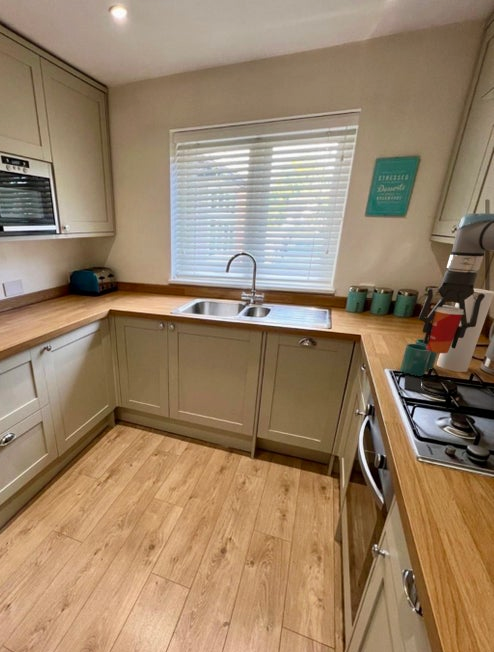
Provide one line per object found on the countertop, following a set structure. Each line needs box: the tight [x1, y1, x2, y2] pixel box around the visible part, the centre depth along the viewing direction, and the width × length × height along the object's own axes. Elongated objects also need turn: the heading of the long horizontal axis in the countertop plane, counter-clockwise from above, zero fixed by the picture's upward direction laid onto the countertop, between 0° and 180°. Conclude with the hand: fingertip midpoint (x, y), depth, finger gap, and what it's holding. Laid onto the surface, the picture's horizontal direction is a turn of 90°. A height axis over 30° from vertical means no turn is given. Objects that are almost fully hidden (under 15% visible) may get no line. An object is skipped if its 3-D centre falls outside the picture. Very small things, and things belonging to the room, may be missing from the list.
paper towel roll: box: [436, 288, 494, 373], centre depth 122 cm, size 9×9×30 cm
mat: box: [403, 375, 440, 397], centre depth 110 cm, size 12×12×1 cm
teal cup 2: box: [414, 338, 439, 372], centre depth 125 cm, size 7×7×10 cm
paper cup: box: [427, 304, 464, 354], centre depth 103 cm, size 8×8×14 cm
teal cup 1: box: [399, 343, 431, 377], centre depth 119 cm, size 7×7×10 cm
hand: (438, 344), depth 105 cm, fingers closed on paper cup, 7 cm apart
